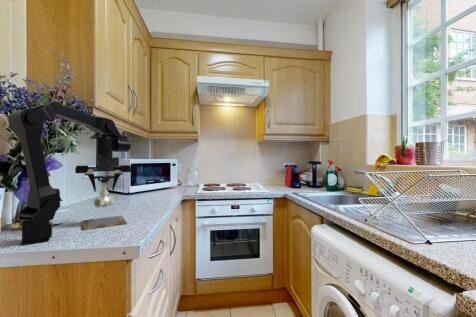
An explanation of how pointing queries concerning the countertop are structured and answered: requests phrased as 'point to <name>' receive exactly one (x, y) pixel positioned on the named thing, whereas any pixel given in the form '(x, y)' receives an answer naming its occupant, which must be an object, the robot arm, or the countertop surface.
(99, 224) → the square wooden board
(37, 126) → the robot arm
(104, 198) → the valve
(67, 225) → the countertop surface
